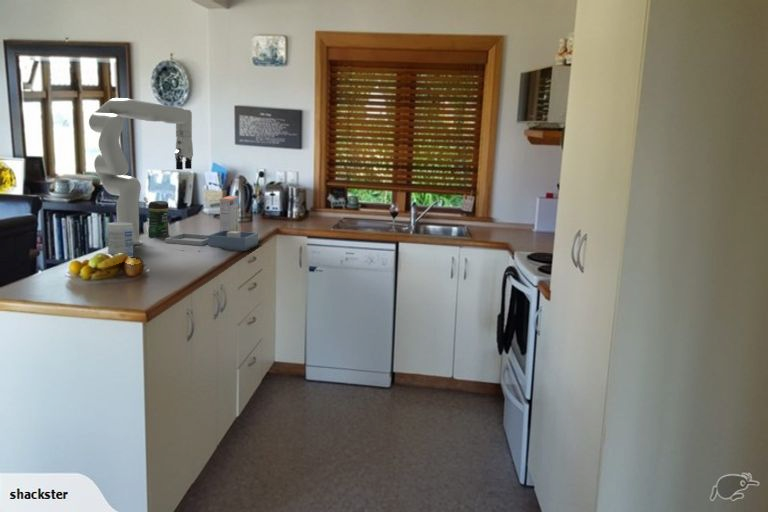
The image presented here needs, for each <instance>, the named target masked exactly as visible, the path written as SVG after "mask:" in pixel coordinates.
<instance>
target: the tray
mask: <svg viewBox="0 0 768 512" xmlns="http://www.w3.org/2000/svg"><path fill="white" fill-rule="evenodd" d="M208 235H209V234H199V233H187V232H186V233H185V232H181V233H177V234H175V235H171V236H167V237H166V238H165V237H164V242H165V243H166V244H174V245H176V244H177V245H187V246H189V245H190V246H201V247H202V246H205V245H207V244H208Z"/></svg>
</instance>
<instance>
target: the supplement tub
mask: <svg viewBox="0 0 768 512" xmlns="http://www.w3.org/2000/svg"><path fill="white" fill-rule="evenodd" d="M133 245H134V244H133V228H132V223H126V222H117V221H116V222H114V221H113V222H109V223H107V253H108V254H118V253H125V254H127V255H128V256H129V257H134V246H133Z"/></svg>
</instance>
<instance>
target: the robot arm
mask: <svg viewBox="0 0 768 512" xmlns="http://www.w3.org/2000/svg"><path fill="white" fill-rule="evenodd" d="M123 118H125V119H131V120H132V119H133V120H140V121H147V122H163V123H165V124H170V125H171V124H173V125H174V124H175V137H176V139H175V152H174V155H175V156H174V157H175V164H176V165H175V168H176V170H178V171H179V170H181V171H182V170H183V169H187V170H190V169H191V170H192V161H193V159H192V158H193V156H194V147H193V139H192V138H193V136H192V134H193V113H192V110H190V109H185V108H182V107H178V106H171V105H165V104H160V103H155V102H154V103H153V102H149V101H143V100H138V99H132V98H127V97H126V98H125V97H124V98H122V97H120V98H119V97H114V98H111V99H109V100H107V101H106V102H104V104H102V105H101V106H100V107H99V108H98V109H96V110H95V111H94V112H93V113H92V114H91V115H90V116H89V119H88V125H89V127H90V129H91V130H92V131H94V132H95V133H100V136H99V138H98V149H99V151H100V153H99V154H98V155H97V156H96V157H95V159H94V164H93V165H94V169H95V173H97V176H98V178H99V180H100V182H101V185H102V187H103V188H104V190H105V191H106V192H107V193H108V194H109V195H113V196H118V199H117V202H116V222H126V223H132V228H133V247H137V246H138V245H139V244H140V245H141V244H143V243H144V241H143V240H141V239H140V205H139V204H140V195H141V190H142V185H141V182H140V181H139V180H138V179H137V178H136V177H134V176H129V175H126V174H128V172H129V163H128V160H127V158H126V157H125V154H124V152H123V149H122V147H121V144H120V136H121V134H122V131H123V130H124V125H125V123H124V119H123ZM183 158H184V159H185V160H184V162H185V163H183ZM183 164H184V165H183Z"/></svg>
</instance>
